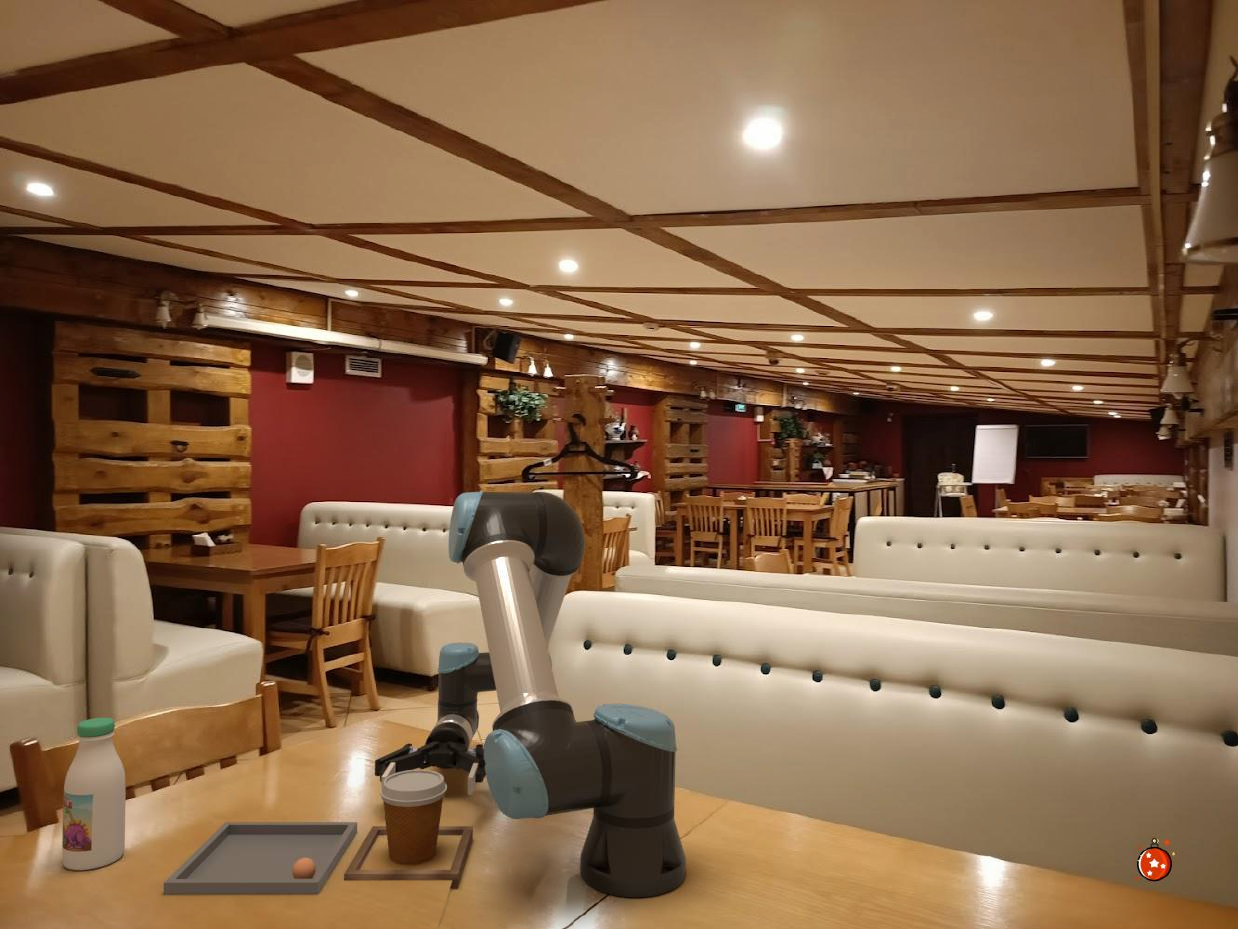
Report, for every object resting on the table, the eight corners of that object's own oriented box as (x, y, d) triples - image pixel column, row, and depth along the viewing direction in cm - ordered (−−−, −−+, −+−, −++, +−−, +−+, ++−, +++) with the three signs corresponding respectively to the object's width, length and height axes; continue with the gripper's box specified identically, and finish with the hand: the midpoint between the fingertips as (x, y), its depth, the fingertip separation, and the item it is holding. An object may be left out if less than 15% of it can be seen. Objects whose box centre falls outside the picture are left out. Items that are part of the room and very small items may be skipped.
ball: (318, 875, 117) (318, 853, 117) (311, 886, 114) (311, 864, 114) (296, 875, 117) (296, 853, 117) (288, 886, 114) (289, 864, 114)
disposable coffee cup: (429, 881, 118) (430, 795, 118) (366, 874, 120) (367, 789, 120) (455, 851, 128) (457, 771, 128) (396, 844, 130) (398, 766, 130)
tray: (356, 839, 131) (357, 822, 131) (317, 903, 112) (318, 882, 112) (225, 839, 130) (225, 822, 130) (163, 903, 111) (163, 882, 111)
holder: (472, 839, 132) (472, 826, 132) (457, 888, 117) (457, 874, 117) (372, 839, 131) (372, 826, 131) (343, 888, 116) (344, 874, 116)
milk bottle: (116, 842, 129) (118, 710, 129) (131, 860, 123) (133, 722, 123) (56, 858, 123) (58, 720, 123) (69, 877, 118) (71, 733, 118)
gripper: (516, 762, 157) (505, 809, 135) (379, 762, 156) (347, 809, 134) (517, 721, 157) (506, 762, 135) (380, 721, 156) (347, 761, 134)
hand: (427, 785), depth 135 cm, fingers open, 13 cm apart
